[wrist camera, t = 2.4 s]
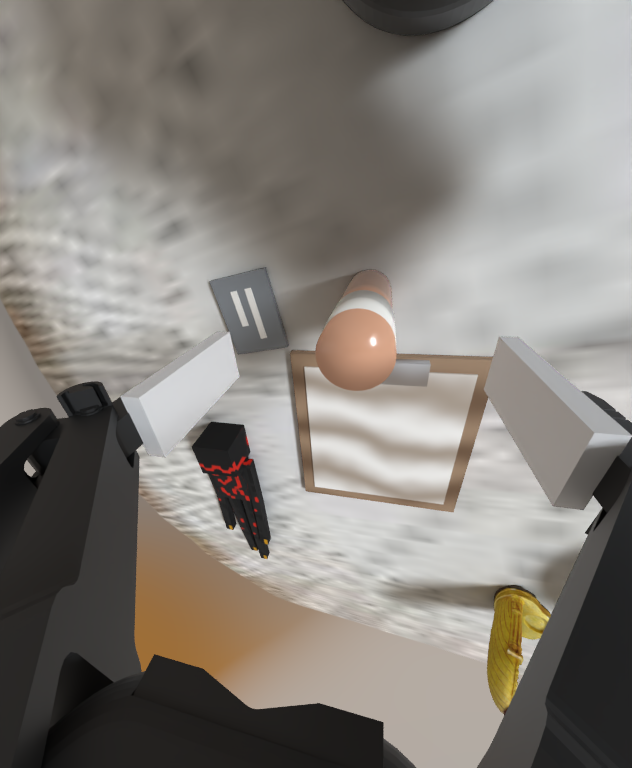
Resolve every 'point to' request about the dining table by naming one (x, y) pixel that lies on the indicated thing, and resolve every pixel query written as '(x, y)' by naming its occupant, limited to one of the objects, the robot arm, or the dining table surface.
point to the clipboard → (392, 429)
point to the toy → (234, 481)
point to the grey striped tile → (250, 311)
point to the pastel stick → (360, 335)
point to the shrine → (511, 639)
